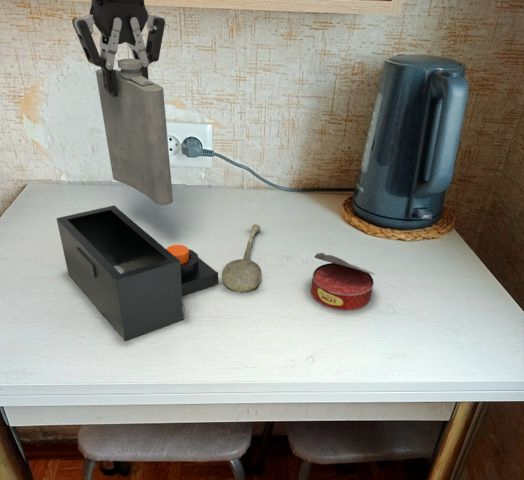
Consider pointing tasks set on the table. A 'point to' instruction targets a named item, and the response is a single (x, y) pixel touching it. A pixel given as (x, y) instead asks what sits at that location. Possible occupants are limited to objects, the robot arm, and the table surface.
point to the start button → (179, 252)
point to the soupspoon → (243, 270)
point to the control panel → (196, 275)
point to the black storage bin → (131, 261)
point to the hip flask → (137, 132)
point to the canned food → (341, 284)
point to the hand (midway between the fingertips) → (127, 93)
